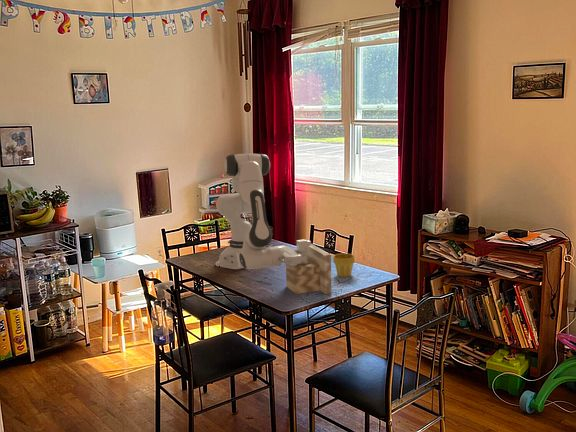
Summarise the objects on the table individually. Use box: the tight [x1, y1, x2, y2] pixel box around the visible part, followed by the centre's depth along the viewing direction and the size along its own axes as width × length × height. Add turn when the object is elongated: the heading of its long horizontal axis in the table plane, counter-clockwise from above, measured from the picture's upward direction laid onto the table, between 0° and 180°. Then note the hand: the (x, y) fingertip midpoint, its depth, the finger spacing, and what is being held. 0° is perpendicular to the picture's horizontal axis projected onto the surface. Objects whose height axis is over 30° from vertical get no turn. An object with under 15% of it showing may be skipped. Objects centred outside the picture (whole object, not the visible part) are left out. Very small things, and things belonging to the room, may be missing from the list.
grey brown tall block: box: [296, 239, 312, 266], centre depth 264 cm, size 6×3×14 cm, turn 110°
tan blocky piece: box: [285, 243, 333, 295], centre depth 266 cm, size 15×24×18 cm, turn 20°
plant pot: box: [333, 252, 355, 278], centre depth 285 cm, size 10×10×10 cm
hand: (303, 252), depth 264 cm, fingers closed on grey brown tall block, 3 cm apart
